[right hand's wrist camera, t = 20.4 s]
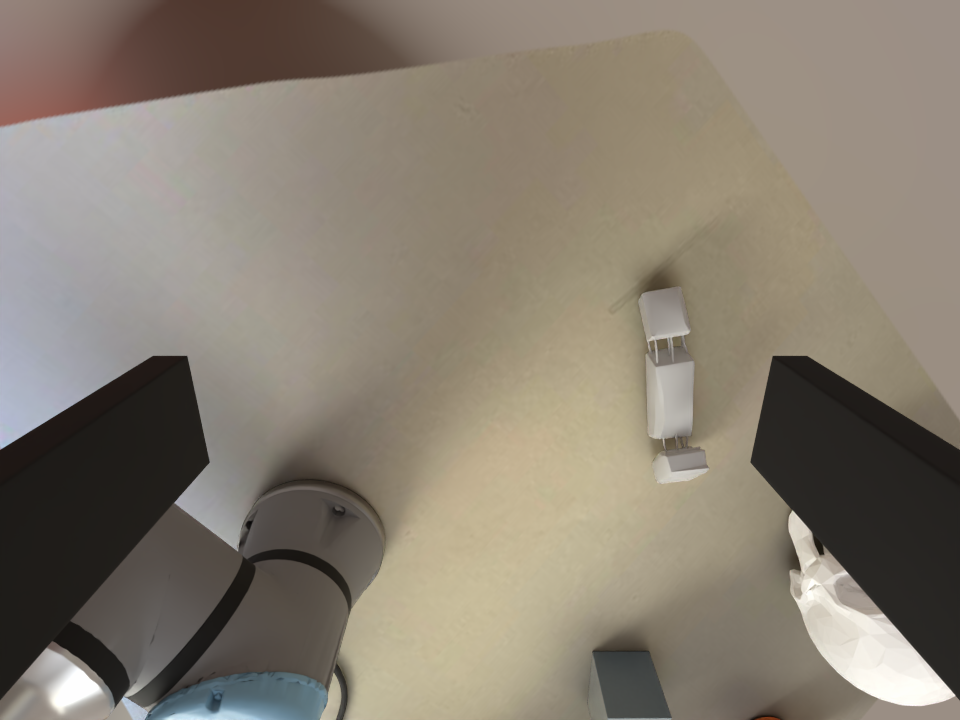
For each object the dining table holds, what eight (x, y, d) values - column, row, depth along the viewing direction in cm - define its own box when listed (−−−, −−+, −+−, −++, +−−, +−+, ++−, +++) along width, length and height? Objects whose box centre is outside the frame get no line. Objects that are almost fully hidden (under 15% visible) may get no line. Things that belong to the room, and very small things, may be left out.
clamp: (687, 471, 55) (714, 505, 49) (650, 476, 56) (673, 512, 49) (670, 280, 50) (698, 290, 44) (631, 287, 50) (653, 299, 44)
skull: (883, 440, 55) (1026, 548, 40) (906, 594, 62) (1033, 734, 47) (751, 478, 57) (840, 595, 42) (788, 623, 64) (875, 765, 49)
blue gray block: (649, 651, 65) (672, 718, 58) (641, 702, 69) (662, 772, 61) (592, 651, 65) (607, 718, 58) (587, 702, 69) (601, 772, 61)
